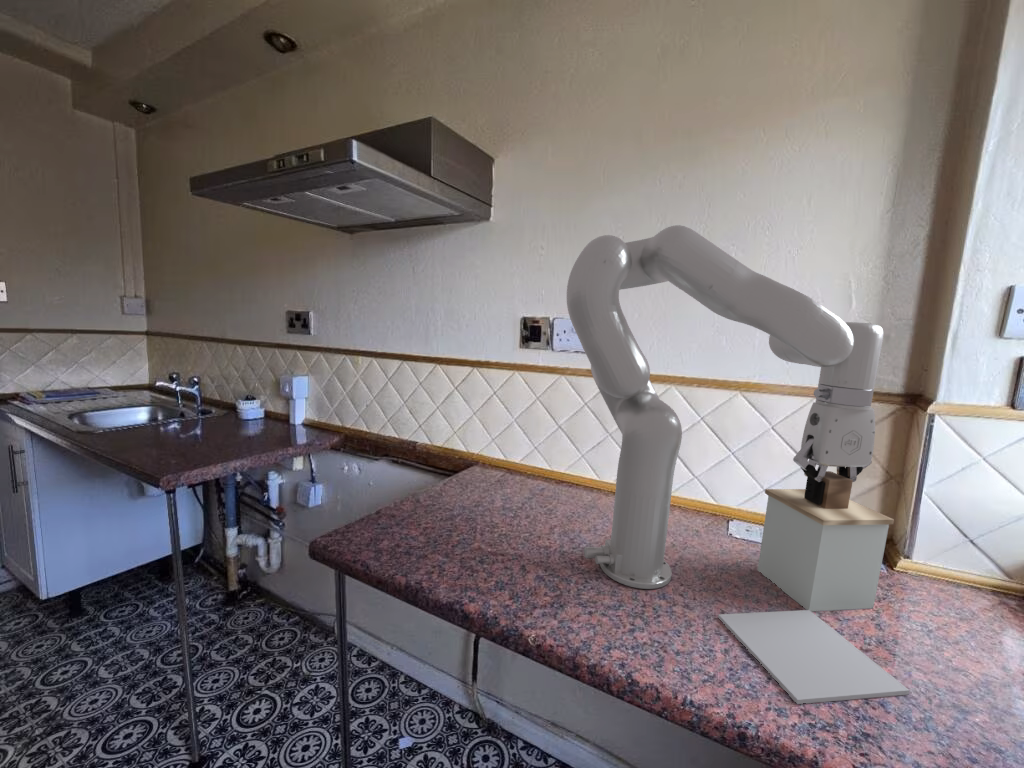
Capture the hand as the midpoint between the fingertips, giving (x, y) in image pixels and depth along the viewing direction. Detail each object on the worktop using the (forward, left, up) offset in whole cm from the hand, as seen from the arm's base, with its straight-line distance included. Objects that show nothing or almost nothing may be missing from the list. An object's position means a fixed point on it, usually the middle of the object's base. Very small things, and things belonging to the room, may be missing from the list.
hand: (826, 500), depth 78 cm
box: (0, 0, -16) cm, 16 cm away
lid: (0, 0, -2) cm, 2 cm away
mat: (-14, -15, -16) cm, 26 cm away
